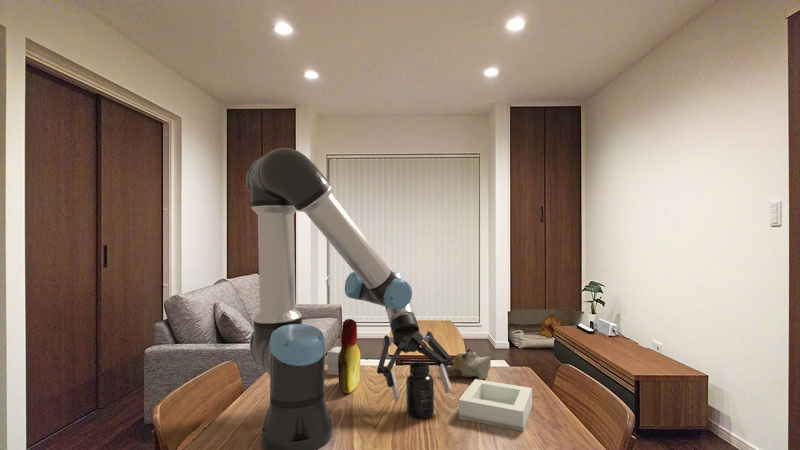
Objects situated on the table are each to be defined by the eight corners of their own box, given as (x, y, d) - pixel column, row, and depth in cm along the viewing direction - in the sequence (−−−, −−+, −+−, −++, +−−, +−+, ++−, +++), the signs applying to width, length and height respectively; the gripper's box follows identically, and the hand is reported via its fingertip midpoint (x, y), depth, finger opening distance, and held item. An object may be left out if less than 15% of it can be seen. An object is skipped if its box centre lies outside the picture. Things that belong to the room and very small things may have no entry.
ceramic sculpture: (484, 355, 115) (438, 351, 123) (486, 386, 114) (439, 379, 122) (495, 347, 124) (451, 343, 132) (497, 375, 124) (453, 369, 131)
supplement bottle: (434, 408, 100) (433, 360, 101) (433, 420, 93) (433, 369, 94) (407, 407, 101) (407, 360, 101) (405, 419, 94) (404, 369, 94)
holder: (458, 418, 94) (458, 399, 95) (475, 395, 108) (475, 379, 108) (523, 431, 88) (523, 411, 88) (532, 405, 101) (531, 388, 101)
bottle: (356, 397, 107) (356, 323, 108) (333, 396, 108) (333, 323, 108) (362, 380, 119) (362, 314, 120) (342, 380, 120) (342, 314, 120)
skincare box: (352, 370, 129) (352, 347, 129) (343, 376, 123) (343, 353, 123) (336, 368, 131) (336, 346, 131) (326, 374, 125) (326, 351, 125)
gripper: (438, 324, 117) (463, 394, 103) (357, 331, 109) (371, 408, 94) (446, 309, 112) (473, 380, 98) (361, 316, 104) (377, 395, 89)
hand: (423, 394), depth 96 cm, fingers open, 13 cm apart
